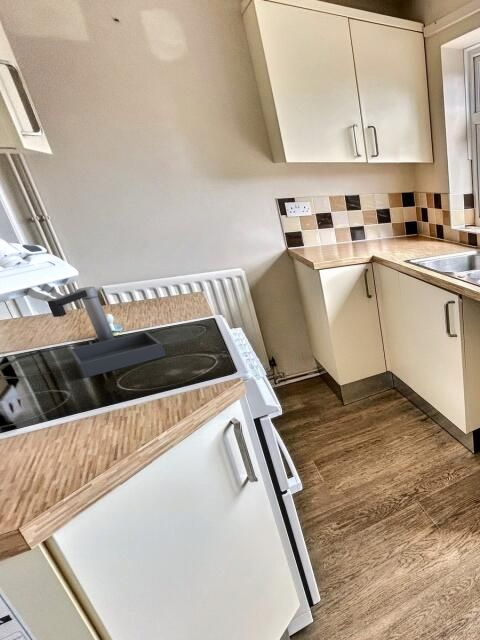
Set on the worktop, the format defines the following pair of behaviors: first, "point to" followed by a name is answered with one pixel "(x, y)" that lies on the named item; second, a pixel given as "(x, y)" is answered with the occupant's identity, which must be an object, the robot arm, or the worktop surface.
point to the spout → (70, 300)
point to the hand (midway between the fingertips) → (60, 301)
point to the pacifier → (113, 325)
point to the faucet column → (98, 319)
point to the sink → (116, 353)
